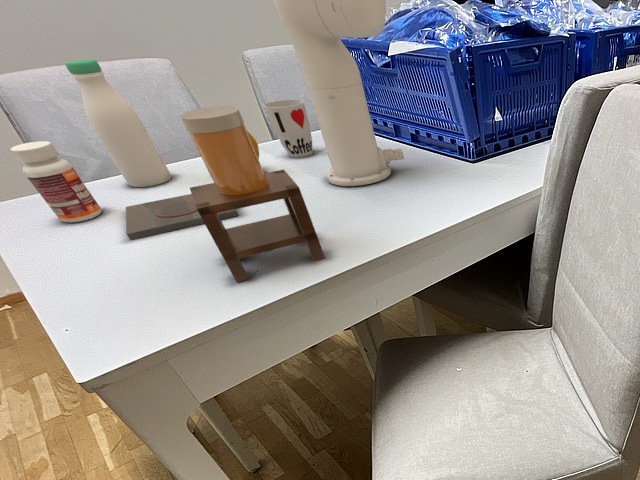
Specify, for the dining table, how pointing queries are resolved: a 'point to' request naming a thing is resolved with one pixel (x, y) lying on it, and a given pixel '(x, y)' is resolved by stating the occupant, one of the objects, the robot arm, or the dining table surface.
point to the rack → (260, 233)
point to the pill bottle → (56, 182)
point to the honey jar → (226, 149)
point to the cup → (291, 126)
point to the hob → (165, 216)
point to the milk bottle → (118, 127)
